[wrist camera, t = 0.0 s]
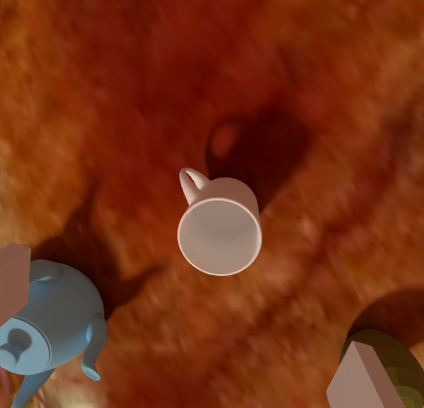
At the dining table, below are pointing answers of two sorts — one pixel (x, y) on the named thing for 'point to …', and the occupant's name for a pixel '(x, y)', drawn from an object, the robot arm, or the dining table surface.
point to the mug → (219, 224)
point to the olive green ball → (394, 364)
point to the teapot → (53, 327)
